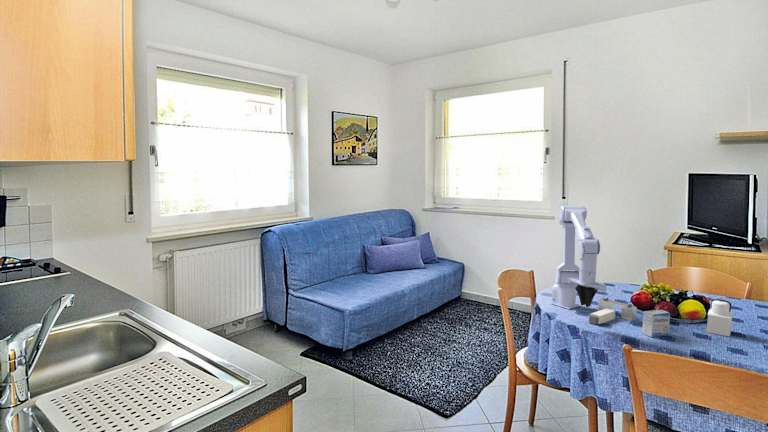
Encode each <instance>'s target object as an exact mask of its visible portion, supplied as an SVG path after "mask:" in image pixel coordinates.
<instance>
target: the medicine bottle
mask: <svg viewBox="0 0 768 432" xmlns="http://www.w3.org/2000/svg"><path fill="white" fill-rule="evenodd" d="M733 314H734V313H733V312H732V303H731V302H730V301H729V300H725V299H721V298H719V299H718V298H715V299H712V300H711V301H710V308H709V309H708V312H707V318H706V327H705V332H706V333H708V334H714V335H718V336H724V337H730V336H731V333H732V324H733Z"/></svg>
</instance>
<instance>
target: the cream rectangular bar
mask: <svg viewBox="0 0 768 432" xmlns="http://www.w3.org/2000/svg"><path fill="white" fill-rule="evenodd" d="M615 319H616V310H615V309H612V310H611V309H608V308H606V309H603V310H600V311H598V310H597V311H594V312H591V313H590V315H589V316H588V323H590V324H593V325H601V324H604V323H607V322H610V321H612V320H615Z"/></svg>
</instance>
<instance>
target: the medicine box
mask: <svg viewBox="0 0 768 432" xmlns="http://www.w3.org/2000/svg"><path fill="white" fill-rule="evenodd" d="M670 319H671V313H670V312H669V311H666V310H664V309H655V310H644V311H643V315H642V327H641V333H642V335H645V336H647V337H649V338H652V339H653V338H659V337H665V336H669V332H670V322H671V321H670Z"/></svg>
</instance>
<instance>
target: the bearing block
mask: <svg viewBox="0 0 768 432" xmlns="http://www.w3.org/2000/svg"><path fill="white" fill-rule="evenodd" d="M613 306H614V307H615V306H616V307H619V308H621V314H620V315H621V316H620V318H621V319H624V320H626V321H630V322H632V321H636V318H637V306H634V305H632V303H629V304H627V303H623V302H619V301H615V300H612V299H609V298H608V297H605V298H604V297H602V298H599V299H598V306H597V308H598V309H597V311H600V310H603V309H606V308H608V309H611V310H613Z"/></svg>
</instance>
